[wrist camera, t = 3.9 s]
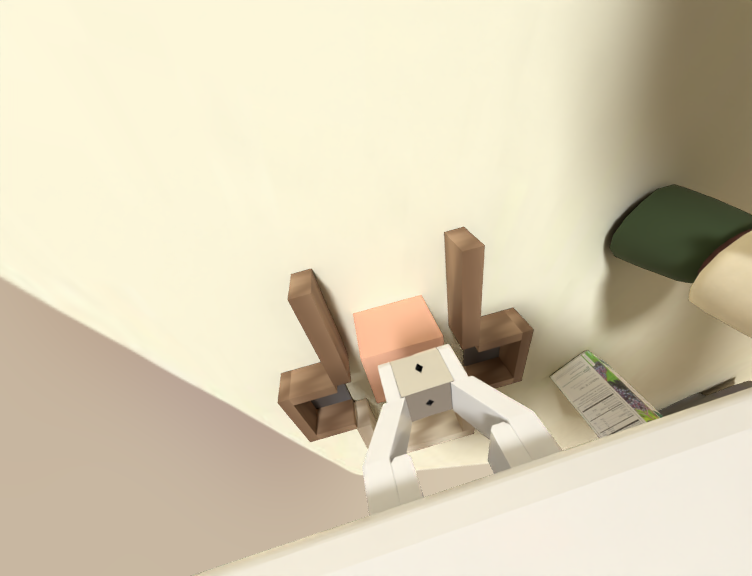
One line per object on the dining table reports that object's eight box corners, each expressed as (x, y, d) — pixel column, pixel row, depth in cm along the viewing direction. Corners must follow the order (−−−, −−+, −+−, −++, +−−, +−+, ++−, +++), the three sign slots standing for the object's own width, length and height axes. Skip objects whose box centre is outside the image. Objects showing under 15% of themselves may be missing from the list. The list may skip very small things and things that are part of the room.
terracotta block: (420, 293, 23) (443, 336, 19) (426, 340, 26) (446, 383, 22) (352, 312, 22) (360, 359, 19) (367, 356, 26) (377, 403, 22)
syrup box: (605, 360, 35) (747, 490, 24) (567, 386, 37) (679, 516, 26) (585, 348, 32) (735, 488, 21) (546, 377, 35) (660, 517, 23)
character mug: (695, 226, 24) (989, 327, 13) (618, 281, 26) (816, 402, 16) (672, 136, 18) (1136, 191, 8) (578, 216, 21) (838, 337, 10)
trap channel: (528, 209, 20) (558, 224, 17) (498, 400, 36) (511, 422, 34) (223, 292, 19) (209, 321, 17) (335, 448, 36) (336, 473, 33)
